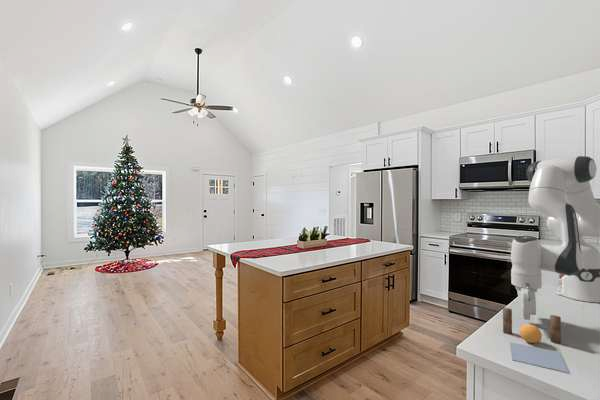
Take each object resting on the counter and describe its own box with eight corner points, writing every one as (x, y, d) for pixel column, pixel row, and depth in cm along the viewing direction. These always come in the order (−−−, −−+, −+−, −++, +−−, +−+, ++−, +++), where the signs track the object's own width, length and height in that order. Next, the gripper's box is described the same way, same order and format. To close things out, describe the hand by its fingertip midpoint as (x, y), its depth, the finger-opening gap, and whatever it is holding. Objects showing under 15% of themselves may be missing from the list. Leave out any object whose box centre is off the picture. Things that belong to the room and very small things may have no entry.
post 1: (503, 330, 102) (502, 307, 102) (511, 332, 100) (511, 308, 100) (503, 333, 99) (502, 309, 100) (512, 335, 98) (512, 311, 98)
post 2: (550, 339, 95) (549, 314, 95) (560, 341, 93) (559, 316, 93) (551, 342, 93) (550, 317, 93) (561, 344, 91) (561, 318, 91)
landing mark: (509, 342, 93) (509, 341, 93) (559, 352, 86) (559, 352, 86) (512, 360, 83) (512, 359, 83) (569, 373, 76) (569, 372, 76)
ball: (518, 325, 98) (519, 320, 94) (540, 329, 95) (541, 323, 91) (520, 343, 95) (520, 338, 91) (542, 347, 92) (543, 342, 88)
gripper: (541, 289, 97) (541, 331, 97) (533, 275, 114) (534, 311, 114) (517, 286, 100) (518, 327, 100) (513, 273, 118) (514, 308, 118)
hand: (526, 318), depth 107 cm, fingers closed
